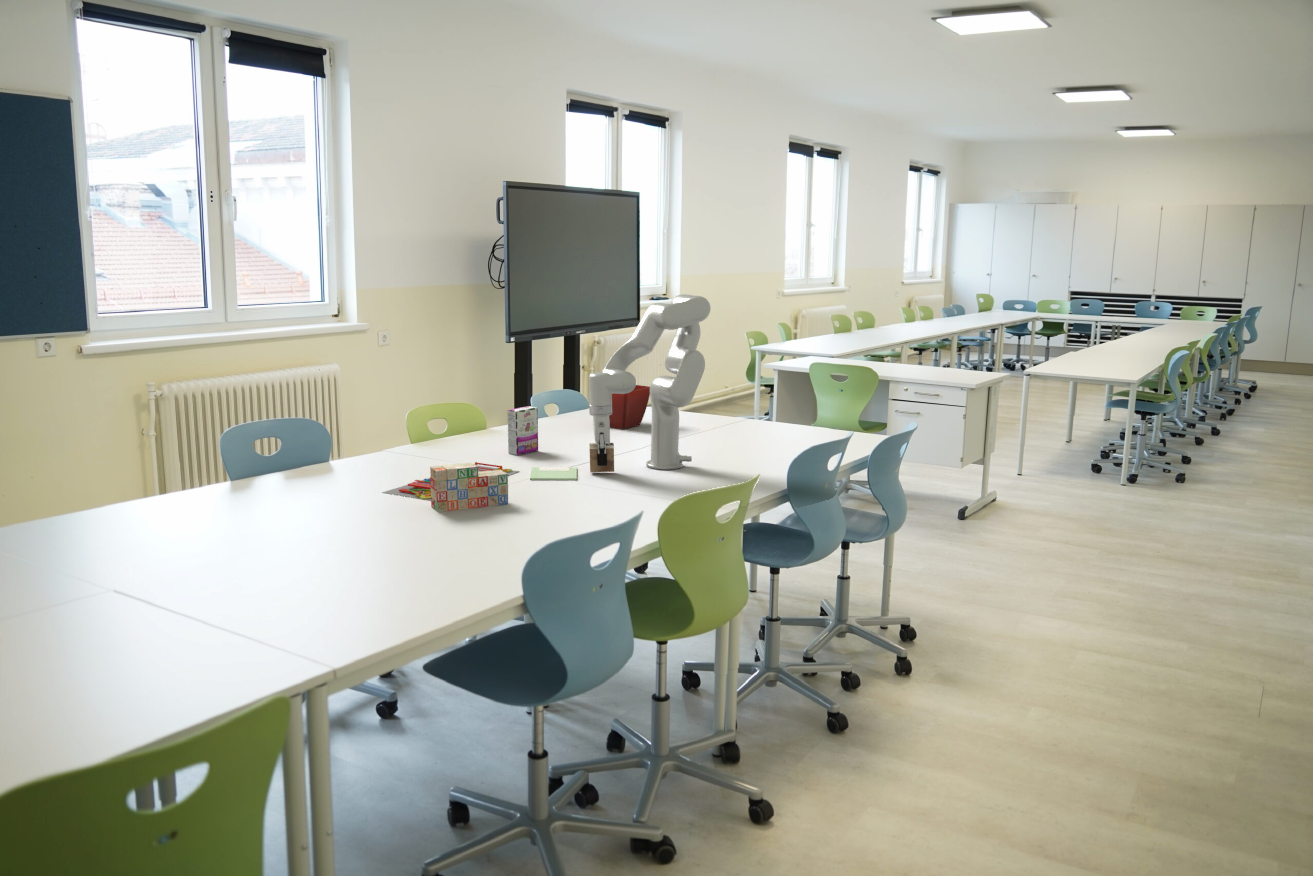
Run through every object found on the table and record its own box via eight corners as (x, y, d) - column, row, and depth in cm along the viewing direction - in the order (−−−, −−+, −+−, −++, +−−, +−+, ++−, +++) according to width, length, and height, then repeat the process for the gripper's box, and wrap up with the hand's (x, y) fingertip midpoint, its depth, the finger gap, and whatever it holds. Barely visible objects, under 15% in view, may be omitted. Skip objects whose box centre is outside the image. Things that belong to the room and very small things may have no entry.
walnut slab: (613, 468, 332) (613, 442, 330) (614, 471, 328) (613, 445, 326) (590, 469, 331) (589, 443, 329) (590, 472, 327) (589, 446, 325)
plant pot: (625, 432, 404) (626, 391, 401) (588, 426, 414) (588, 387, 411) (651, 425, 420) (652, 386, 417) (614, 420, 430) (615, 382, 427)
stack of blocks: (501, 499, 294) (501, 459, 292) (508, 504, 289) (508, 463, 286) (430, 507, 284) (429, 465, 282) (436, 512, 279) (435, 470, 276)
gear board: (432, 494, 290) (381, 486, 298) (432, 502, 290) (382, 494, 298) (519, 466, 329) (472, 459, 338) (519, 473, 330) (472, 466, 338)
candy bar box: (528, 449, 366) (528, 405, 363) (538, 451, 363) (538, 407, 360) (507, 453, 357) (506, 409, 354) (517, 455, 354) (516, 410, 351)
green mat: (576, 469, 335) (576, 467, 335) (576, 480, 320) (576, 478, 320) (532, 469, 334) (532, 467, 334) (530, 480, 318) (530, 477, 318)
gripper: (613, 414, 317) (614, 469, 321) (611, 405, 334) (612, 457, 337) (589, 414, 317) (591, 470, 321) (589, 405, 333) (590, 458, 337)
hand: (602, 463), depth 329 cm, fingers closed on walnut slab, 4 cm apart
